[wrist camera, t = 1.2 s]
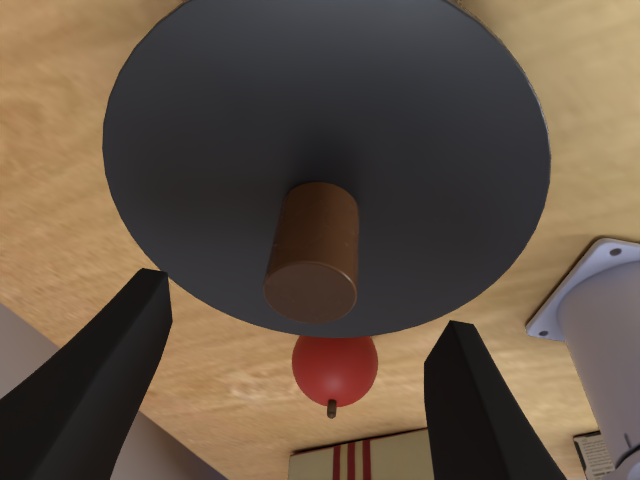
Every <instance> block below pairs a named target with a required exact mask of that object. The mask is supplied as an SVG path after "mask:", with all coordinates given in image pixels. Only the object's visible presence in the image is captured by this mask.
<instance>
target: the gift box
mask: <svg viewBox="0 0 640 480" xmlns="http://www.w3.org/2000/svg"><path fill="white" fill-rule="evenodd" d="M288 480H434V474H433V466H432V458H431V451H430V443H429V436H428V428H427V429H422V430H417V431H412V432H407V433H401V434H396V435H391V436H386V437H381V438H375V439H368V440H363V441H358V442H353V443H348V444H343V445H338V446H334V447H328V448H323V449H318V450H312V451H307V452H302V453H297V454H293V455H291V456H290V460H289V471H288Z"/></svg>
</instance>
